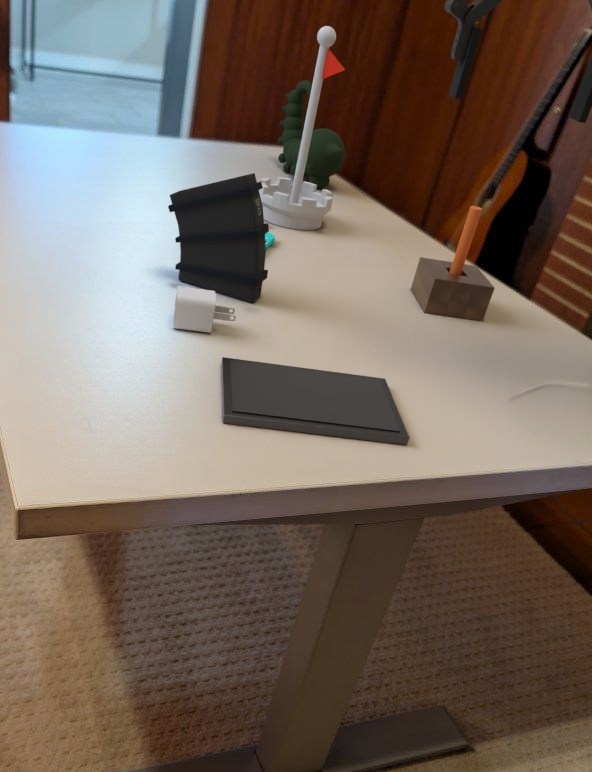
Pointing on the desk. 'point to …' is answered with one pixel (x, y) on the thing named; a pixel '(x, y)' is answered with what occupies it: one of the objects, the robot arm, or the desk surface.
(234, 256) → the magazine
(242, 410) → the tablet
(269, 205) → the flag stand
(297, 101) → the toy figurine
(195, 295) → the usb wall charger
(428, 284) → the pen stand
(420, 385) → the desk surface
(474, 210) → the orange rod
